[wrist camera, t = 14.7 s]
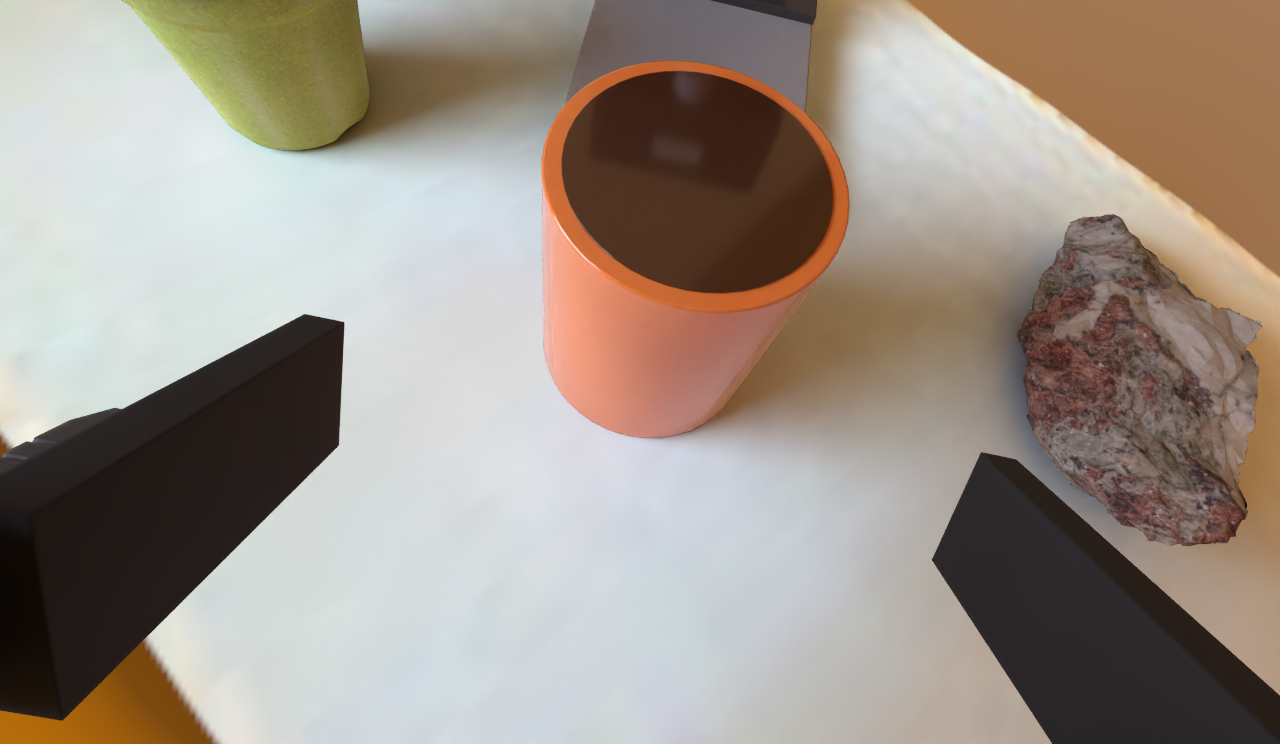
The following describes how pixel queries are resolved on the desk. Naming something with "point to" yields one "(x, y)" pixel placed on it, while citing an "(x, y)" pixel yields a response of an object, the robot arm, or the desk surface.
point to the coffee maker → (702, 39)
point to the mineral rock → (1140, 386)
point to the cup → (678, 239)
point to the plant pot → (270, 63)
